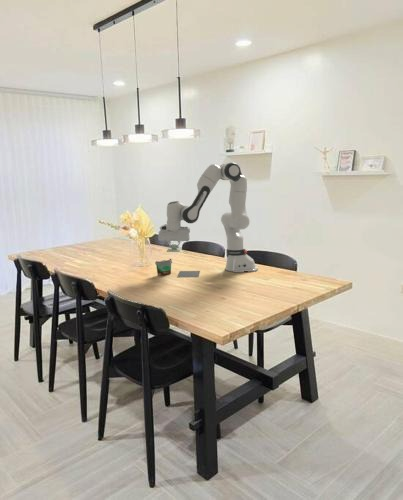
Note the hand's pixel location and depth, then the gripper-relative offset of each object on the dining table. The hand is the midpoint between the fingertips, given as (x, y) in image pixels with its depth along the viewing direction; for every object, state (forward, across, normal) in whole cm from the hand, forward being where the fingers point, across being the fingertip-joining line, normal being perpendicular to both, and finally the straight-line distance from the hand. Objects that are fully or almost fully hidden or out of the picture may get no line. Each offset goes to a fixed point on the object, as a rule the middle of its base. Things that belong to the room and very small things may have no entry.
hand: (174, 247), depth 258 cm
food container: (+19, +6, 0) cm, 20 cm away
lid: (+2, 0, 0) cm, 2 cm away
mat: (+18, -9, -1) cm, 20 cm away
